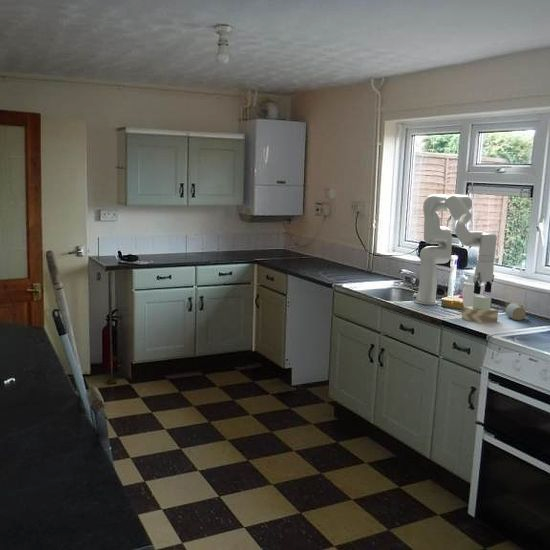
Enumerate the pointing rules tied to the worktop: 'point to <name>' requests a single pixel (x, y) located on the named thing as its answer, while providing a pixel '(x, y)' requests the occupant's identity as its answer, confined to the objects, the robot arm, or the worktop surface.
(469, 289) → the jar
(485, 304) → the sage tub
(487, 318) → the birch block
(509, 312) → the ceramic mug
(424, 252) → the robot arm
